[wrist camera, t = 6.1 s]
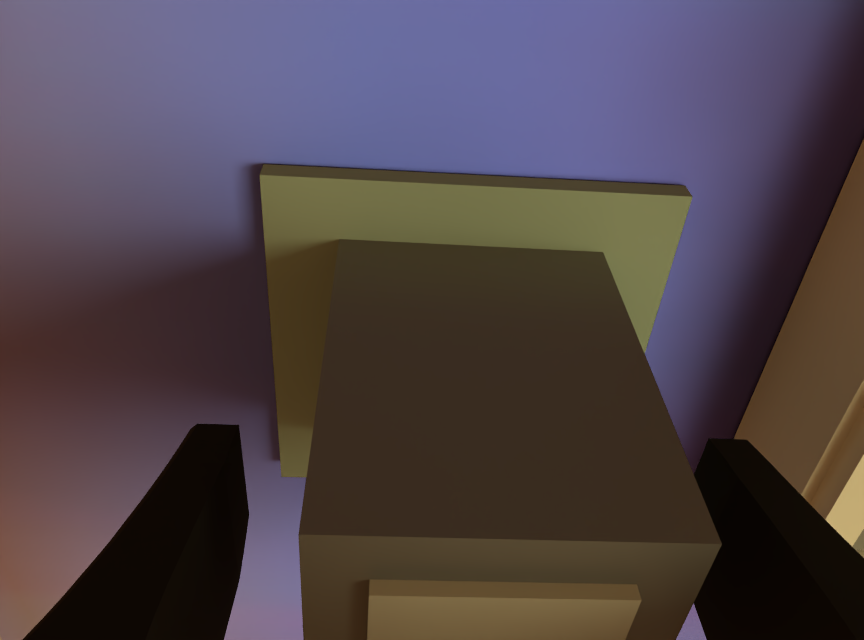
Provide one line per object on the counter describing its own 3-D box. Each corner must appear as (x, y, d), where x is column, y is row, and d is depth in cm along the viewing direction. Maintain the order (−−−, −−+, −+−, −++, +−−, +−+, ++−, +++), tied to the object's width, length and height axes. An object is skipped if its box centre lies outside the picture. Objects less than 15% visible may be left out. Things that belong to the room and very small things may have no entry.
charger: (557, 438, 16) (629, 755, 11) (338, 430, 15) (307, 755, 10) (602, 251, 13) (728, 559, 8) (339, 238, 13) (296, 551, 8)
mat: (600, 470, 17) (604, 484, 16) (283, 462, 16) (281, 476, 16) (685, 185, 13) (692, 196, 12) (263, 163, 12) (259, 174, 12)
